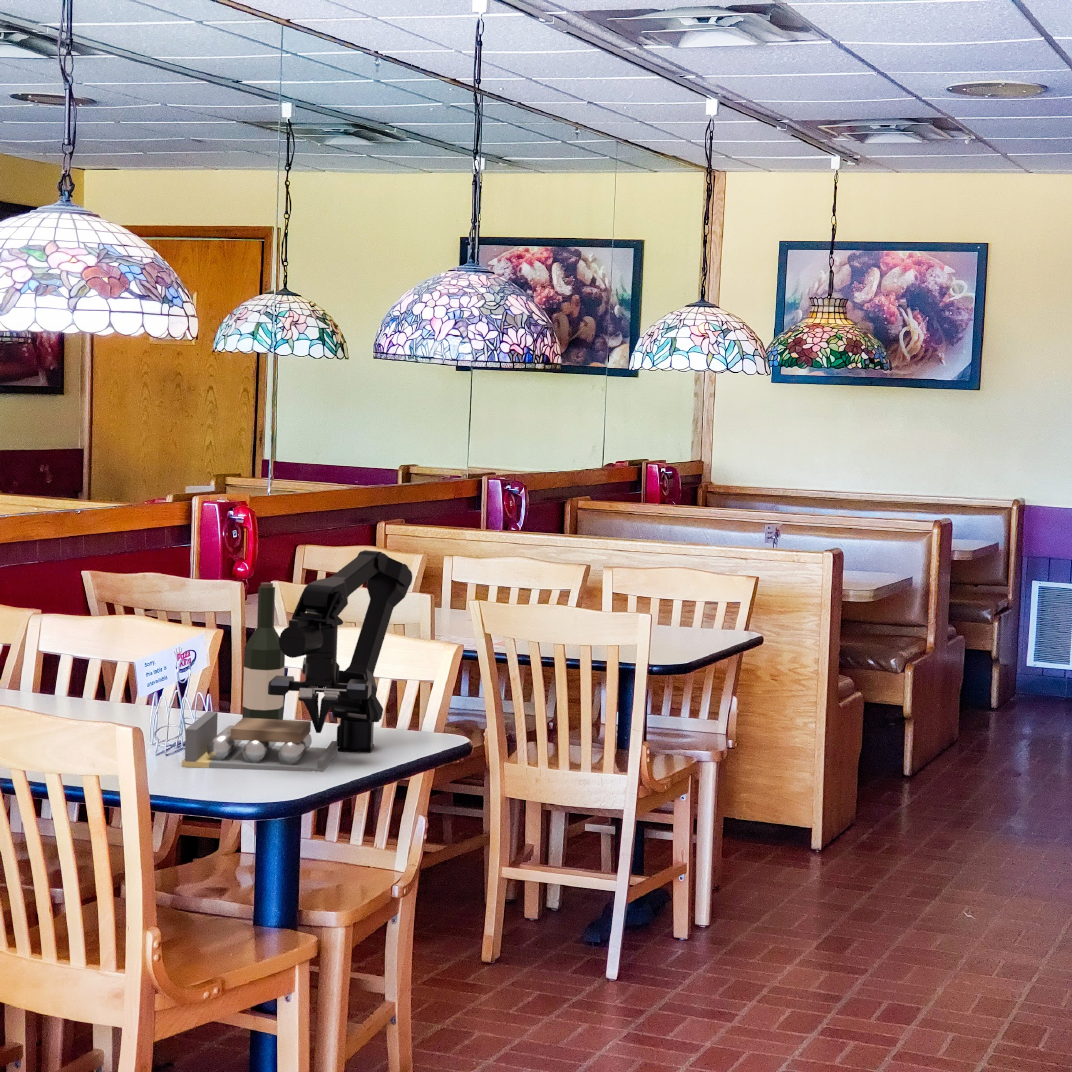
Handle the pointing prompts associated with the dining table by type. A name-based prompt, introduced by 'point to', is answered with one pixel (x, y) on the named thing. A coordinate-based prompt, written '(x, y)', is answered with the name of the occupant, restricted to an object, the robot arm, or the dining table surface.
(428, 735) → the dining table surface
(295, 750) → the roller
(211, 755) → the roller
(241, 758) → the track board
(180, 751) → the dining table surface
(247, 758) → the roller
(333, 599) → the robot arm
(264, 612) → the wine bottle
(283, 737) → the slab
